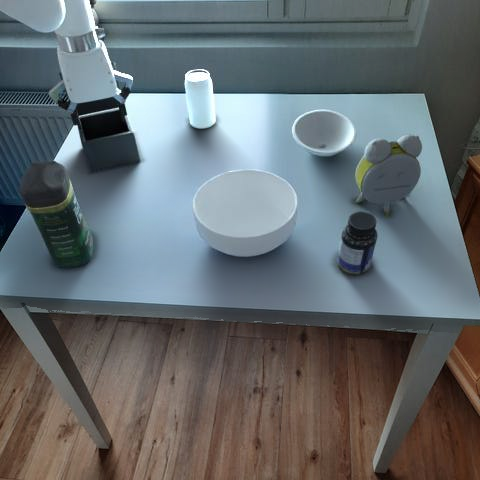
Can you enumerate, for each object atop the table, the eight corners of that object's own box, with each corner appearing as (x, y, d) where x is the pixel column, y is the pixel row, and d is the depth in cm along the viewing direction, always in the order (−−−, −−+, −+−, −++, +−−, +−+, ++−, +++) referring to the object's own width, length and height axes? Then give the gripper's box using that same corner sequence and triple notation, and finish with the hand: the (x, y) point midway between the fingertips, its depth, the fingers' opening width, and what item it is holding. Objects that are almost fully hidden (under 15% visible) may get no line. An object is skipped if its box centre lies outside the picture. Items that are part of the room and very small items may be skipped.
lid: (115, 65, 99) (109, 45, 100) (59, 75, 97) (54, 55, 98) (124, 106, 111) (119, 88, 112) (75, 116, 109) (70, 98, 110)
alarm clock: (402, 192, 100) (421, 126, 88) (414, 213, 96) (435, 147, 84) (349, 199, 99) (360, 134, 87) (359, 220, 95) (372, 155, 83)
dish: (358, 171, 105) (361, 151, 101) (293, 173, 105) (294, 154, 101) (348, 127, 115) (350, 108, 111) (289, 129, 116) (290, 110, 112)
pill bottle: (358, 249, 90) (369, 204, 82) (376, 271, 87) (388, 225, 78) (330, 259, 89) (337, 214, 80) (346, 281, 86) (356, 236, 77)
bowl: (221, 194, 102) (218, 161, 95) (308, 215, 97) (311, 180, 90) (180, 255, 91) (174, 222, 85) (275, 282, 86) (276, 249, 80)
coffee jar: (94, 267, 91) (60, 187, 76) (52, 272, 90) (10, 193, 75) (96, 233, 96) (65, 153, 82) (57, 238, 96) (19, 158, 81)
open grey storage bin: (141, 162, 111) (133, 132, 104) (92, 174, 109) (81, 143, 102) (132, 137, 117) (124, 106, 111) (85, 147, 115) (75, 117, 109)
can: (215, 115, 122) (210, 67, 112) (215, 129, 118) (211, 81, 108) (190, 117, 122) (183, 69, 112) (190, 131, 118) (183, 83, 108)
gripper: (119, 24, 94) (137, 107, 108) (31, 39, 91) (60, 122, 105) (126, 39, 90) (143, 123, 103) (33, 55, 87) (63, 139, 100)
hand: (101, 123), depth 104 cm, fingers open, 9 cm apart
